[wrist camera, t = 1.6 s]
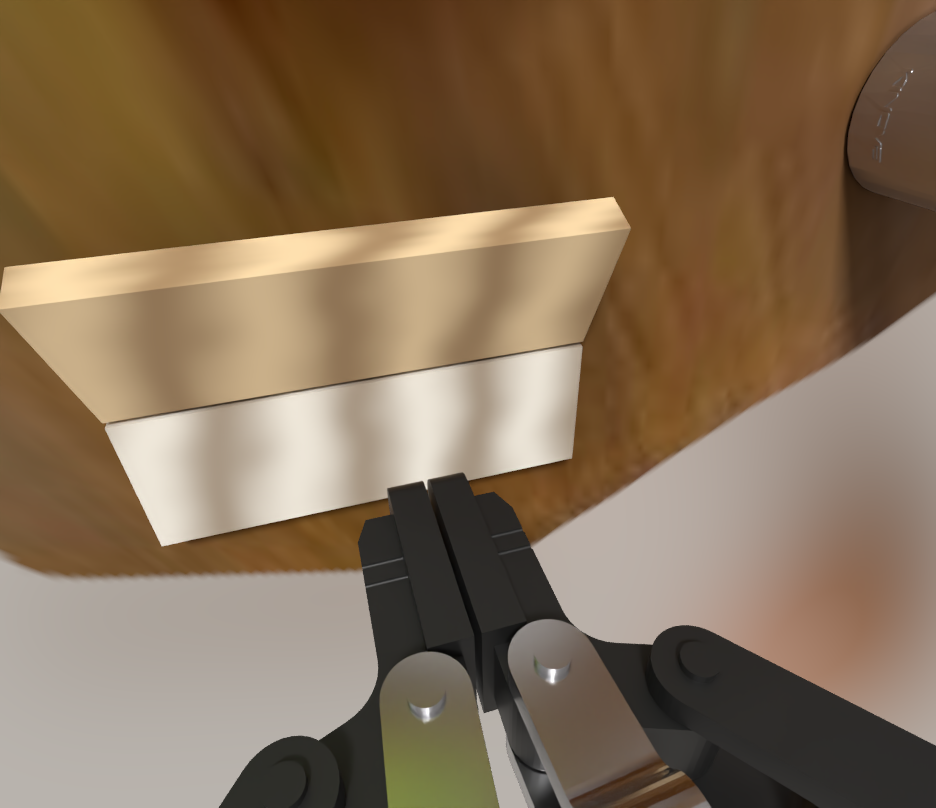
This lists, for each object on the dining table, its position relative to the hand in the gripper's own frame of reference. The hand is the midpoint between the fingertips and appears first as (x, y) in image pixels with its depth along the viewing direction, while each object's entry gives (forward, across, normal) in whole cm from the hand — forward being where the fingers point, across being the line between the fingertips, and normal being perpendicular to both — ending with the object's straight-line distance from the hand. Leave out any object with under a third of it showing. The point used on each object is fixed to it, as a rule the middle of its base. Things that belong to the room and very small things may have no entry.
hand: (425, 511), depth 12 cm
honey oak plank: (+17, 0, +3) cm, 17 cm away
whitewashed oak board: (+19, 0, +11) cm, 22 cm away
